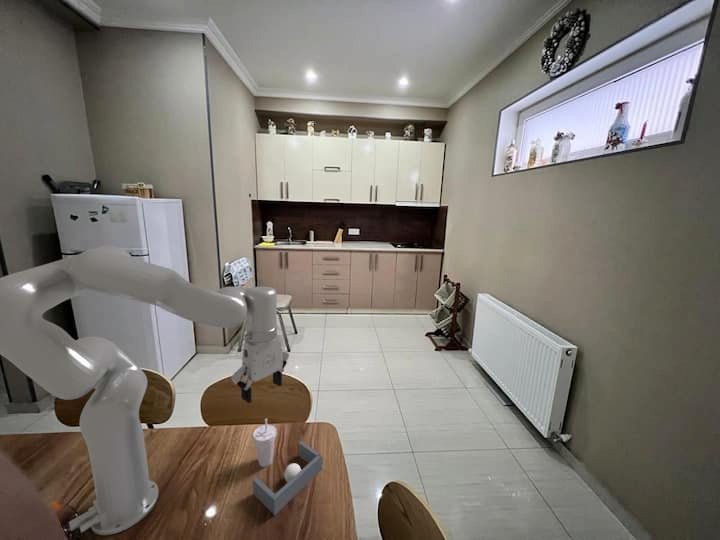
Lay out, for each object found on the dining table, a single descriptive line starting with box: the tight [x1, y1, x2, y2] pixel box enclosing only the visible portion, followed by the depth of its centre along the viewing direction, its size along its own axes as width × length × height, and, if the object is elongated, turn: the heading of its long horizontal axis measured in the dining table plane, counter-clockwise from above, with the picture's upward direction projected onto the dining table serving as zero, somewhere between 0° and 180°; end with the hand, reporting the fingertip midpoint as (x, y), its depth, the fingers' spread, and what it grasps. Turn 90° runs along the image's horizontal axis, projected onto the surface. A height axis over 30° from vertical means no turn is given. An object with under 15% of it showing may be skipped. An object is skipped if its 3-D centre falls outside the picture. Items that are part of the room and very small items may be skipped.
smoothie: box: [252, 418, 277, 468], centre depth 81 cm, size 6×6×14 cm
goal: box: [252, 440, 323, 516], centre depth 76 cm, size 16×8×4 cm, turn 144°
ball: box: [283, 462, 302, 483], centre depth 76 cm, size 4×4×4 cm
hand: (262, 392), depth 78 cm, fingers open, 9 cm apart
